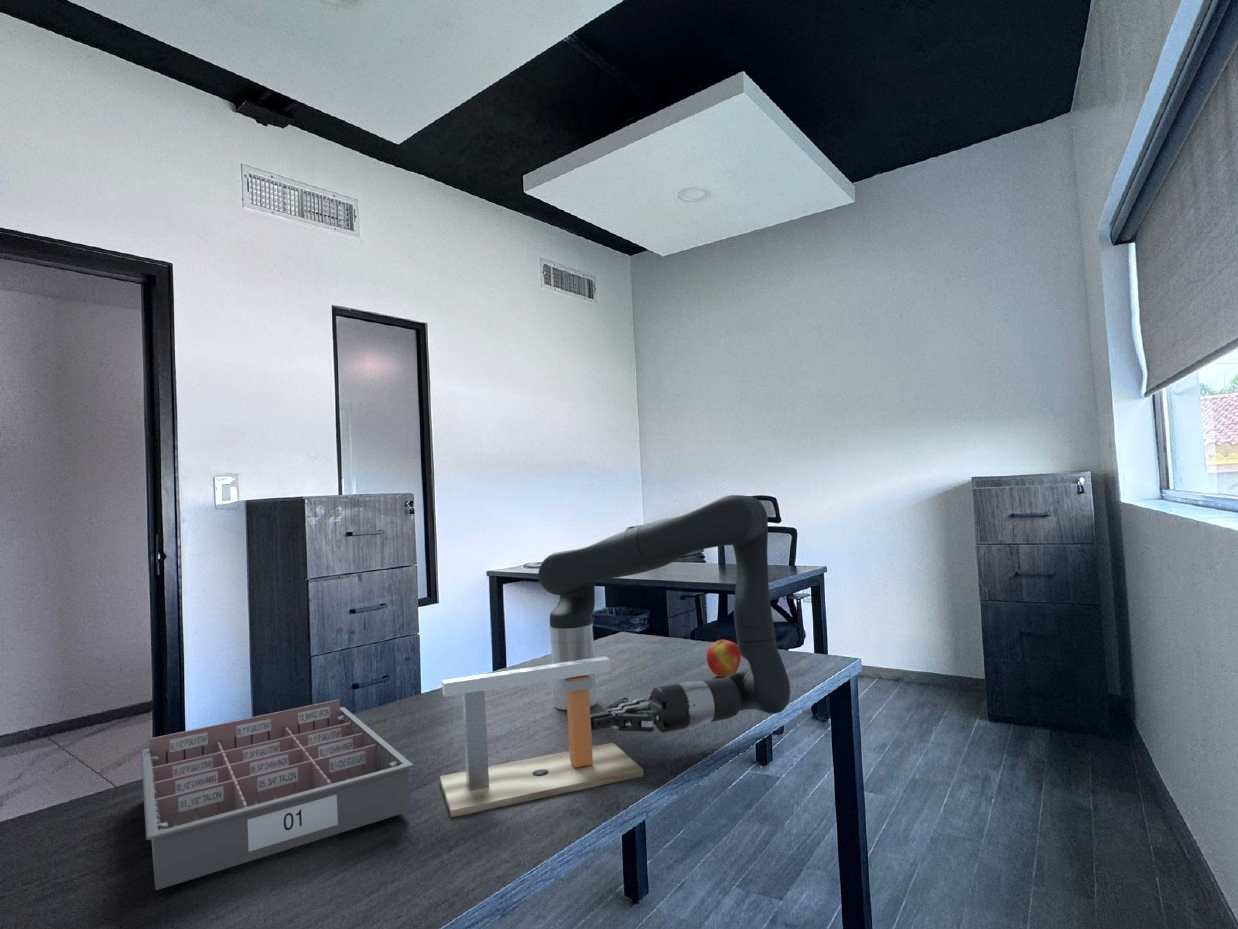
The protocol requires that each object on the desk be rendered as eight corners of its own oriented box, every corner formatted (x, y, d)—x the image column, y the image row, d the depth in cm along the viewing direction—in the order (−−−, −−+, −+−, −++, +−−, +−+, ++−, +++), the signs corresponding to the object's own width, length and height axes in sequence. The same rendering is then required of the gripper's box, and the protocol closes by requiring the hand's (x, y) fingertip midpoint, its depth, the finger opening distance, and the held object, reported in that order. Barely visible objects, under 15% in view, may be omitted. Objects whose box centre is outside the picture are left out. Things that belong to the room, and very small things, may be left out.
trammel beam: (447, 788, 109) (441, 679, 109) (610, 755, 118) (604, 656, 119) (449, 795, 106) (444, 684, 106) (616, 761, 115) (610, 659, 116)
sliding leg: (566, 761, 116) (561, 675, 117) (589, 756, 117) (584, 672, 118) (573, 769, 112) (568, 681, 113) (596, 764, 114) (591, 677, 114)
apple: (744, 680, 163) (741, 637, 164) (710, 682, 163) (707, 639, 164) (739, 671, 171) (736, 630, 172) (706, 673, 171) (703, 632, 172)
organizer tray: (148, 908, 82) (145, 821, 82) (142, 799, 114) (140, 738, 115) (417, 821, 100) (414, 750, 101) (346, 749, 133) (344, 696, 133)
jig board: (440, 782, 113) (439, 775, 113) (613, 748, 124) (612, 742, 124) (451, 817, 100) (450, 810, 100) (643, 776, 111) (643, 769, 111)
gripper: (664, 675, 128) (574, 690, 122) (698, 693, 116) (599, 710, 110) (667, 717, 128) (577, 734, 122) (701, 739, 115) (602, 759, 109)
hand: (588, 722), depth 116 cm, fingers closed
